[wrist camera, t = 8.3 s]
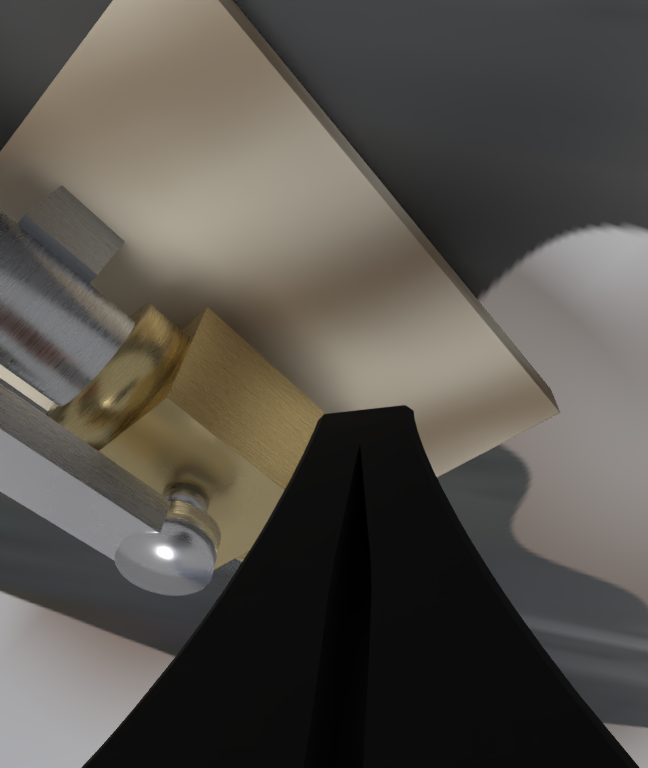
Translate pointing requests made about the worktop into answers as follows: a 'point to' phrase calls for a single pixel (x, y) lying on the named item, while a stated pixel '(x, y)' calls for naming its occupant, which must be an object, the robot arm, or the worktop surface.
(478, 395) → the mounting board
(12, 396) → the valve lever
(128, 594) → the worktop surface
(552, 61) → the worktop surface
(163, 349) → the valve pipe
